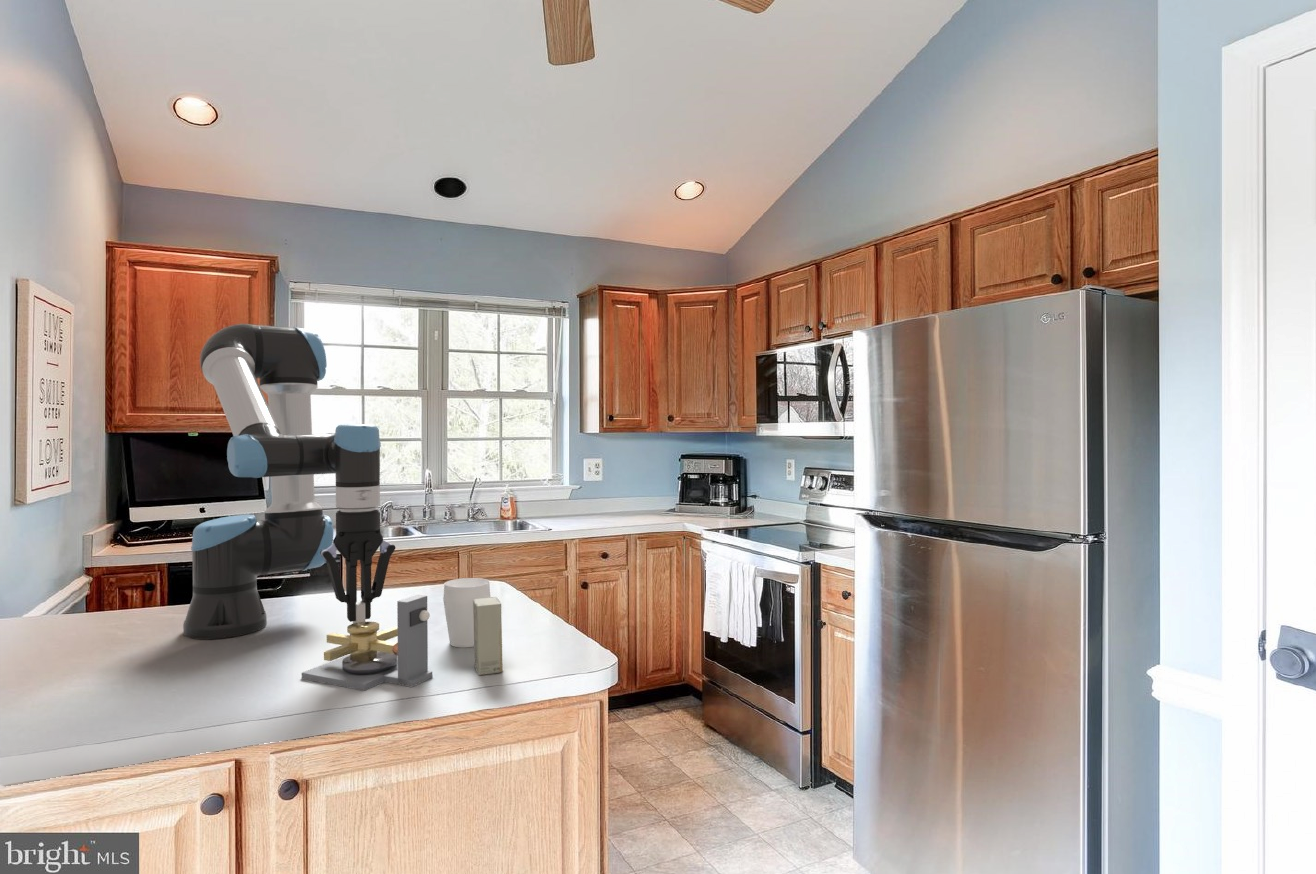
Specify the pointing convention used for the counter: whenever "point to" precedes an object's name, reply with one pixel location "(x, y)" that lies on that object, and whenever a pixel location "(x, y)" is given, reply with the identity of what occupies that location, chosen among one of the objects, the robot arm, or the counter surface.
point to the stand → (409, 656)
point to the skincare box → (487, 635)
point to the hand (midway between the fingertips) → (359, 637)
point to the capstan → (364, 648)
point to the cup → (463, 608)
